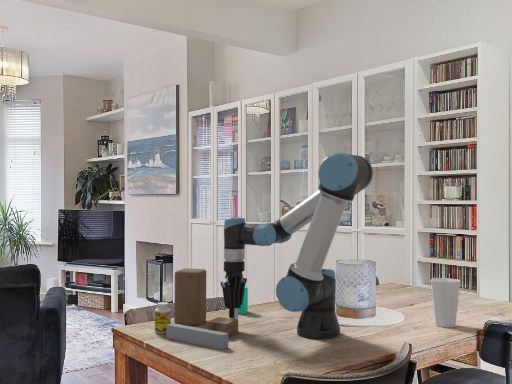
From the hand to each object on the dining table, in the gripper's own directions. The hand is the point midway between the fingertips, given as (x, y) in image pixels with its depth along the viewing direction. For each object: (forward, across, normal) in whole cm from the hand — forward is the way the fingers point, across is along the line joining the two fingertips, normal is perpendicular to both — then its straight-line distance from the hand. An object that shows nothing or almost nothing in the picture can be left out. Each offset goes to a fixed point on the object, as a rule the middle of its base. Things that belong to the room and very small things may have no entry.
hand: (233, 326), depth 195 cm
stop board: (+2, +21, 0) cm, 21 cm away
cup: (+2, -53, +60) cm, 80 cm away
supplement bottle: (+2, +17, -19) cm, 25 cm away
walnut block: (+2, +7, 0) cm, 7 cm away
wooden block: (+2, 0, -21) cm, 21 cm away
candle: (+2, -27, -17) cm, 32 cm away
